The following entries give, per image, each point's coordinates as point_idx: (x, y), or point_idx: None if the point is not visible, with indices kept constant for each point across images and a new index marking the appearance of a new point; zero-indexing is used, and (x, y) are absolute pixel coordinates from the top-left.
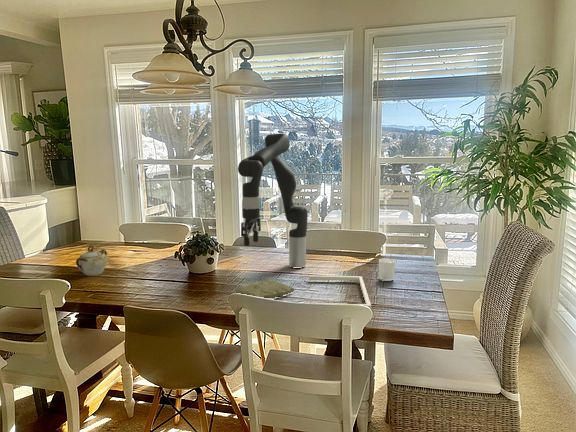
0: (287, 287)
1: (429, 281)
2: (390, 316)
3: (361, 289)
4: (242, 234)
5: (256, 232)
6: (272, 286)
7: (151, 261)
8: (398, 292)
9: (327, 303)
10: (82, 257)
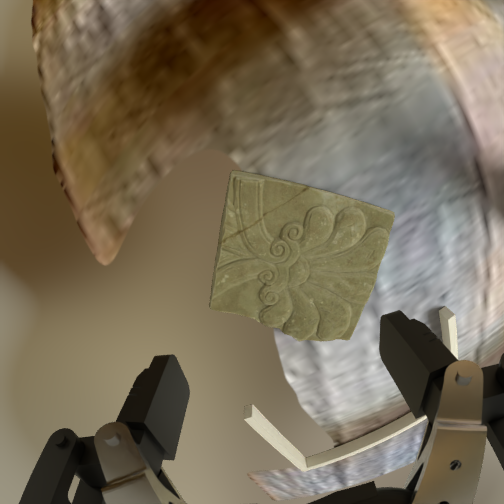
0: (338, 330)
1: None
2: (300, 474)
3: (399, 423)
4: (60, 457)
5: (430, 419)
6: (326, 283)
7: None
8: (408, 443)
9: (272, 440)
10: None
